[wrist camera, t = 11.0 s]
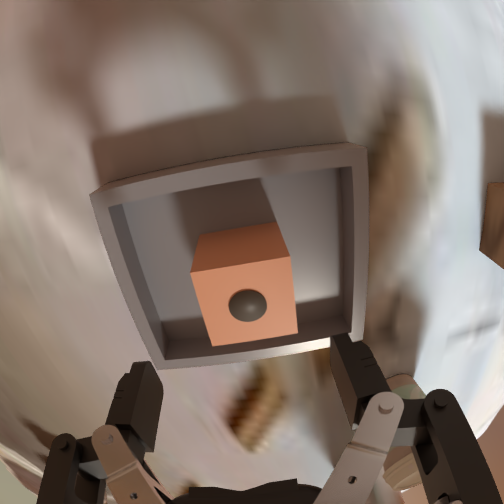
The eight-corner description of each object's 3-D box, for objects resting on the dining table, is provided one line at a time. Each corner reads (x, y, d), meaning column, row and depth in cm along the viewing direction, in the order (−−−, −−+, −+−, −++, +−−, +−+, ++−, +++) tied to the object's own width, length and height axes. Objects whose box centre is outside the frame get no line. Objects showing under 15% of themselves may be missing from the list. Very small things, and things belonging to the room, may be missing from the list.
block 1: (276, 221, 19) (290, 257, 15) (285, 287, 21) (298, 334, 17) (199, 234, 19) (189, 273, 15) (215, 298, 22) (212, 347, 17)
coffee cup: (422, 392, 31) (459, 464, 20) (362, 420, 32) (388, 498, 21) (422, 353, 27) (472, 438, 17) (351, 386, 28) (385, 483, 18)
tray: (350, 316, 24) (362, 339, 21) (163, 344, 24) (157, 369, 22) (348, 142, 18) (366, 147, 15) (107, 182, 18) (89, 194, 16)
